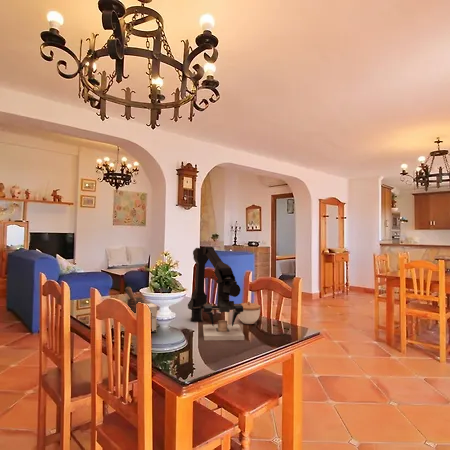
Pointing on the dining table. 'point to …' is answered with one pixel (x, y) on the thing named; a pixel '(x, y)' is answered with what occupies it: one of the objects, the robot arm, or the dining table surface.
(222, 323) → the maple spool
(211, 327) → the socket block
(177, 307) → the dining table surface
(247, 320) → the lidded bowl
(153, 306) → the supplement box
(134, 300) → the mortar and pestle
